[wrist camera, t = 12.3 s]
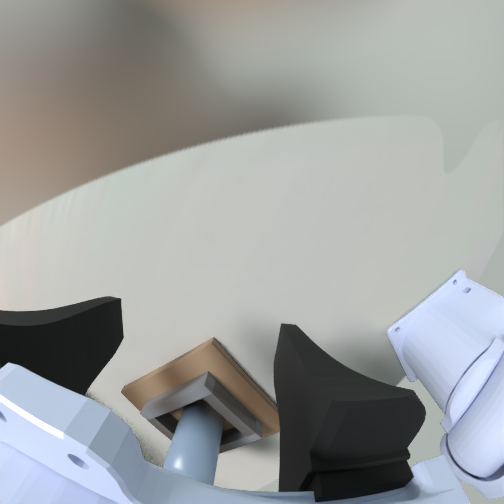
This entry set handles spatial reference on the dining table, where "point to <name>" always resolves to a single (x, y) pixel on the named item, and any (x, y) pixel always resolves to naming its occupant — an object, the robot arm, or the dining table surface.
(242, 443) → the holder
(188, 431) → the tube
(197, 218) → the dining table surface
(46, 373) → the robot arm
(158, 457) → the dining table surface
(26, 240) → the dining table surface
